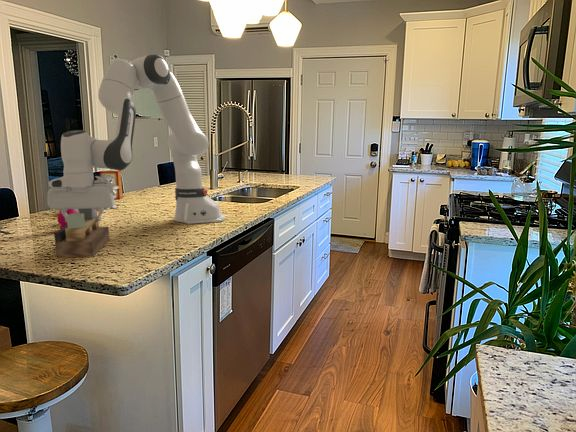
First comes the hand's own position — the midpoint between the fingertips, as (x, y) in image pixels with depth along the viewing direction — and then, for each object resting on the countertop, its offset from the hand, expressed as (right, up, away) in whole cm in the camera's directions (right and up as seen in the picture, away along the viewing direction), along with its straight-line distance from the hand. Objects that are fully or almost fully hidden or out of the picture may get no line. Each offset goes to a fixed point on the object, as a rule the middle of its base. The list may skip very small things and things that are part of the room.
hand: (83, 221), depth 147 cm
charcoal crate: (-1, +1, +6) cm, 7 cm away
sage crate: (+1, -2, -6) cm, 6 cm away
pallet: (0, -4, +1) cm, 4 cm away
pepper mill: (-18, -4, +26) cm, 32 cm away
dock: (0, -9, +2) cm, 9 cm away
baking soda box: (-29, +11, +97) cm, 102 cm away
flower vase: (-24, +4, +64) cm, 68 cm away
